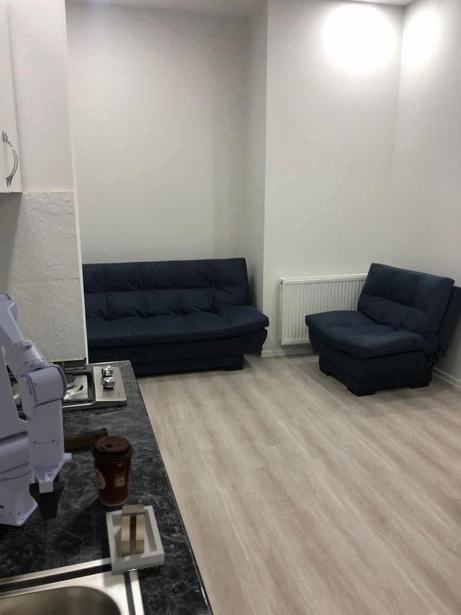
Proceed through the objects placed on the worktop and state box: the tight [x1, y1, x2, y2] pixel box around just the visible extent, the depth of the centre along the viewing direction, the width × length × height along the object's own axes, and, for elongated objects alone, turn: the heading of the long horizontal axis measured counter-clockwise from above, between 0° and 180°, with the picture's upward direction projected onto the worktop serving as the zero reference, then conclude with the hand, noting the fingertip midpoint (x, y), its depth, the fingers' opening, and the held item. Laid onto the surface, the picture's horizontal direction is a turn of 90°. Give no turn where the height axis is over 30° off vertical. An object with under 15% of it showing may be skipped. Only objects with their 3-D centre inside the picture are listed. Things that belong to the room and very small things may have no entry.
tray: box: [105, 505, 165, 576], centre depth 94 cm, size 14×9×2 cm, turn 17°
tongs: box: [121, 503, 145, 557], centre depth 94 cm, size 10×4×4 cm, turn 10°
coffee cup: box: [90, 435, 134, 507], centre depth 106 cm, size 9×8×13 cm
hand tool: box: [63, 427, 109, 451], centre depth 126 cm, size 19×4×5 cm, turn 115°
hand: (50, 504), depth 90 cm, fingers open, 7 cm apart
